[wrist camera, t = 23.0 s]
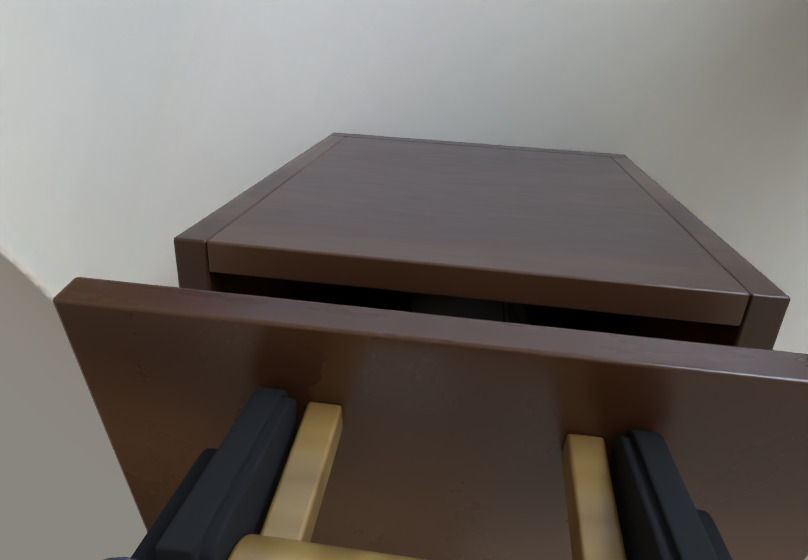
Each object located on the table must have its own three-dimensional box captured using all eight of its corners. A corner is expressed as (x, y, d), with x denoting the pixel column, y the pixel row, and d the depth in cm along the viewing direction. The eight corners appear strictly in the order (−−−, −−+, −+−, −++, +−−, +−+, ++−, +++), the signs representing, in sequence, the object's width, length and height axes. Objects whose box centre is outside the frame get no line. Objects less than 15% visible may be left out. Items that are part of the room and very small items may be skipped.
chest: (333, 132, 31) (172, 238, 15) (625, 154, 29) (792, 297, 13) (332, 405, 38) (223, 673, 22) (567, 434, 36) (631, 743, 21)
